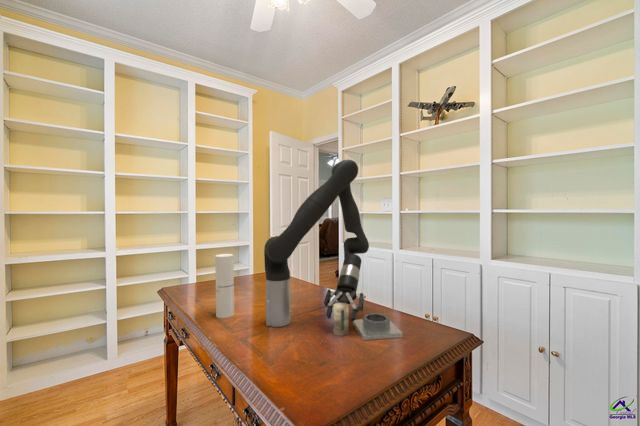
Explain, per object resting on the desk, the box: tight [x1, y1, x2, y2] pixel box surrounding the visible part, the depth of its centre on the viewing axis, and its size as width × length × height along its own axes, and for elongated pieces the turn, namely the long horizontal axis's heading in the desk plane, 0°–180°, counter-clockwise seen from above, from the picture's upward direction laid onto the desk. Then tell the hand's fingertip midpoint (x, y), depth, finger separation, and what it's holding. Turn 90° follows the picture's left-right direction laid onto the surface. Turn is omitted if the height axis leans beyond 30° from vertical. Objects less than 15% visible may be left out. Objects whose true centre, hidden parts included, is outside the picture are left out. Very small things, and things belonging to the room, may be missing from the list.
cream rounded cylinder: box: [333, 303, 349, 337], centre depth 103 cm, size 5×5×10 cm
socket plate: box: [351, 312, 404, 341], centre depth 105 cm, size 14×14×4 cm
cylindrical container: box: [214, 253, 235, 319], centre depth 122 cm, size 7×7×25 cm
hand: (340, 319), depth 102 cm, fingers open, 8 cm apart
